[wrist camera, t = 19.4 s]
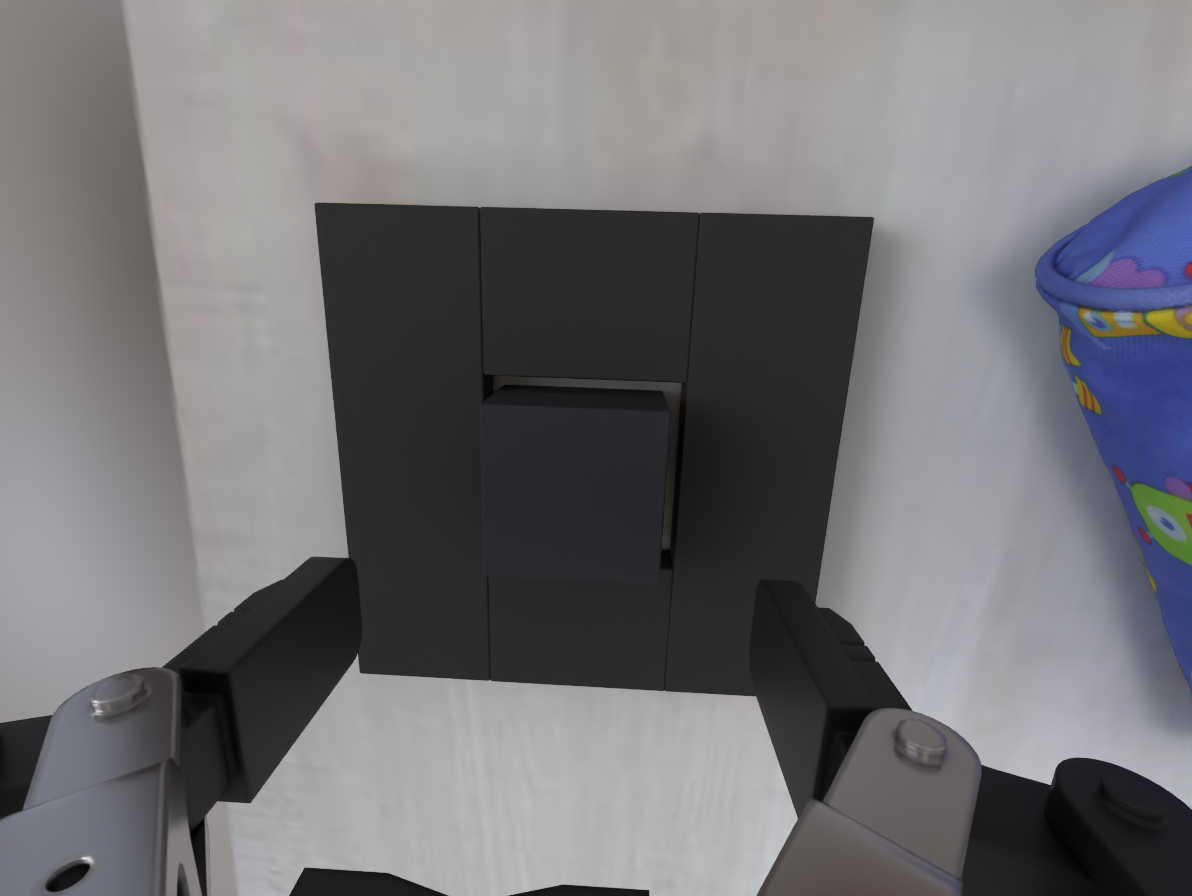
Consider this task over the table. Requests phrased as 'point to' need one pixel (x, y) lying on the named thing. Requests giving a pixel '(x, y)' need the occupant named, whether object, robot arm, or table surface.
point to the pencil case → (1137, 371)
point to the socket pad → (585, 351)
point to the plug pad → (574, 483)
